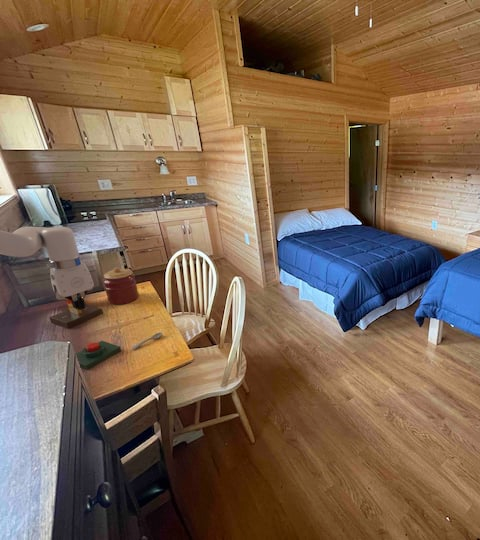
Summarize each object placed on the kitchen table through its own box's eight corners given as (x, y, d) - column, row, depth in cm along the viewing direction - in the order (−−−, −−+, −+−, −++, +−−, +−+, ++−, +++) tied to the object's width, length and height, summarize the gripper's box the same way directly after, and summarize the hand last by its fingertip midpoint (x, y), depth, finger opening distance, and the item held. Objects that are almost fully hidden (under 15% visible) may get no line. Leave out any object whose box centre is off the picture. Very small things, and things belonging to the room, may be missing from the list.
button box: (87, 370, 108) (84, 361, 107) (68, 363, 111) (65, 354, 109) (121, 351, 119) (119, 342, 117) (103, 344, 121) (100, 336, 120)
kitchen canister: (112, 294, 158) (104, 263, 152) (141, 292, 163) (135, 262, 157) (104, 306, 147) (95, 273, 141) (136, 303, 153) (128, 271, 146)
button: (91, 353, 111) (90, 349, 111) (84, 350, 112) (83, 346, 112) (102, 347, 115) (100, 343, 114) (95, 345, 115) (94, 341, 115)
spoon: (164, 336, 129) (163, 332, 129) (135, 352, 120) (133, 348, 119) (160, 334, 131) (159, 330, 130) (130, 350, 121) (129, 346, 120)
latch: (82, 313, 136) (79, 304, 134) (78, 314, 134) (75, 306, 133) (74, 310, 137) (71, 302, 135) (70, 311, 136) (67, 303, 134)
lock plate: (68, 328, 129) (66, 322, 128) (51, 323, 132) (48, 316, 131) (103, 313, 142) (101, 308, 140) (86, 308, 144) (84, 303, 143)
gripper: (46, 271, 97) (62, 320, 103) (97, 258, 110) (108, 302, 117) (31, 267, 99) (48, 315, 105) (83, 254, 112) (95, 298, 119)
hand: (79, 308), depth 111 cm, fingers closed
